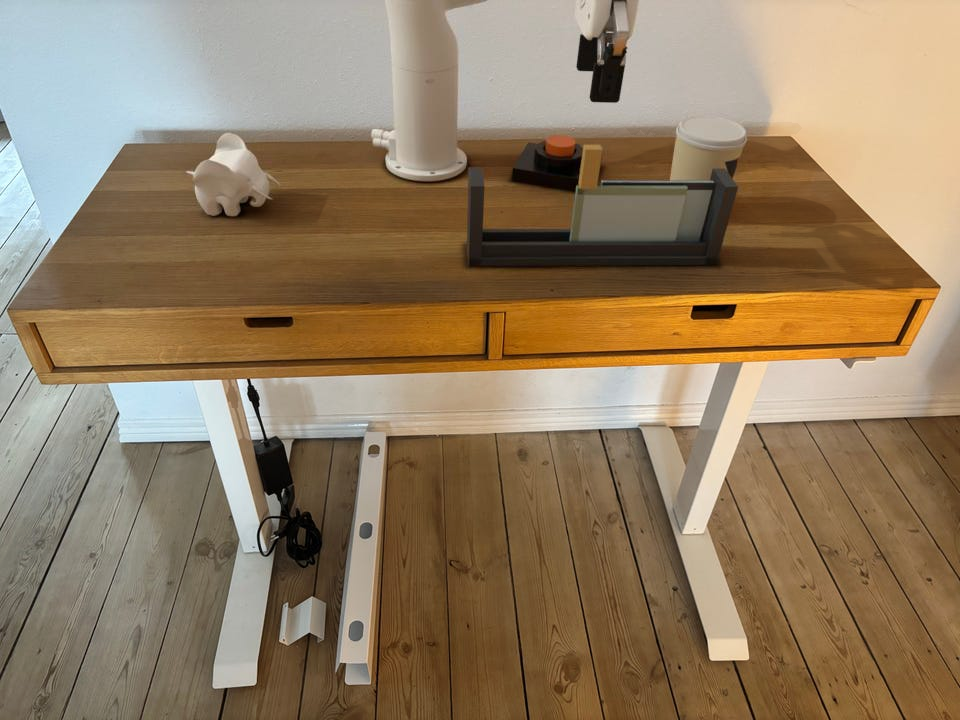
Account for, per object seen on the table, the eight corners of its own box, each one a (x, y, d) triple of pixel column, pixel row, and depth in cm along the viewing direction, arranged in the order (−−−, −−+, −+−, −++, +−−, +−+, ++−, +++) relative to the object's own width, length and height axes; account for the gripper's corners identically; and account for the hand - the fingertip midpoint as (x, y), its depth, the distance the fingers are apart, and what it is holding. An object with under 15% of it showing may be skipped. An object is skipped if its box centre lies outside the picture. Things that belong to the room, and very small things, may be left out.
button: (542, 155, 110) (543, 144, 109) (548, 144, 113) (549, 133, 112) (571, 159, 109) (572, 148, 108) (576, 148, 112) (577, 137, 111)
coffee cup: (728, 227, 102) (751, 145, 94) (660, 219, 103) (677, 137, 96) (724, 197, 109) (746, 118, 101) (661, 189, 110) (677, 111, 103)
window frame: (468, 266, 92) (470, 186, 85) (466, 245, 96) (468, 167, 89) (716, 265, 94) (738, 186, 87) (704, 245, 98) (725, 168, 91)
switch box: (511, 181, 111) (513, 156, 108) (527, 155, 118) (528, 131, 116) (589, 194, 108) (593, 169, 106) (600, 166, 116) (604, 142, 113)
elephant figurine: (271, 226, 98) (260, 164, 92) (182, 221, 98) (166, 159, 92) (288, 193, 105) (279, 133, 100) (205, 189, 105) (192, 129, 100)
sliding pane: (569, 250, 93) (582, 149, 84) (568, 244, 94) (581, 144, 85) (674, 250, 94) (698, 150, 85) (671, 244, 95) (694, 145, 86)
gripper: (571, -105, 79) (554, 59, 90) (598, -74, 65) (574, 114, 76) (639, -102, 79) (614, 60, 90) (680, -71, 66) (645, 115, 77)
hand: (596, 85), depth 83 cm, fingers open, 9 cm apart
